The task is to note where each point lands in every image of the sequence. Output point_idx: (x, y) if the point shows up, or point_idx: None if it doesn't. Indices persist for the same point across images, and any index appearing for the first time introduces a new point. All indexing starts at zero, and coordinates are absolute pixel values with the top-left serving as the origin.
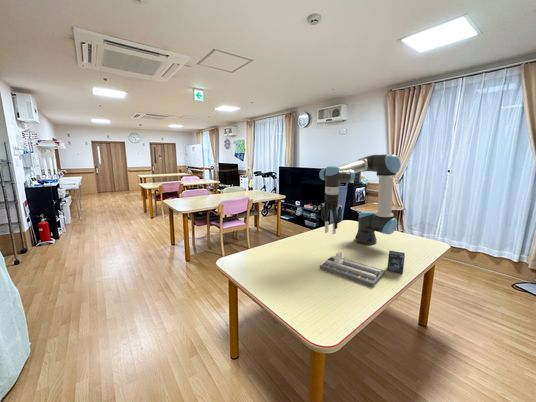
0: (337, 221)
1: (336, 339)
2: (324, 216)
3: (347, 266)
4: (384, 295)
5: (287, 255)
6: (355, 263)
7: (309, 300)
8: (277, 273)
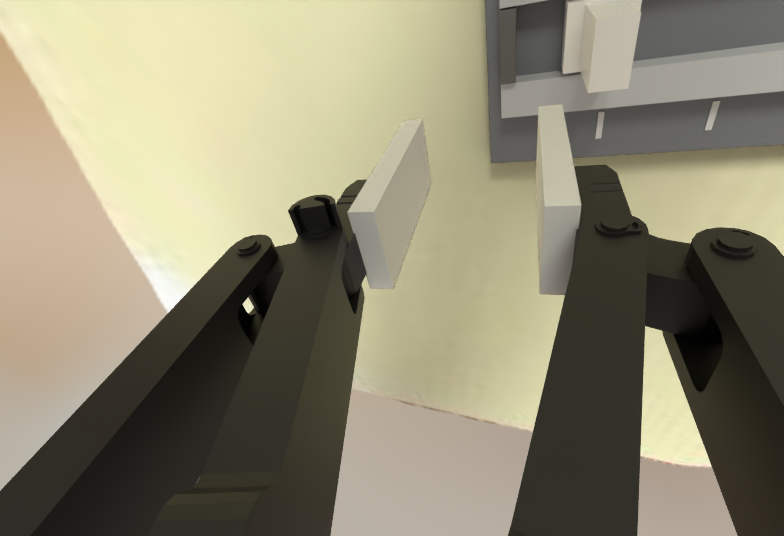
0: (678, 344)
1: None
2: (247, 294)
3: (713, 69)
4: None
5: (237, 145)
6: None
7: None
8: (379, 306)
